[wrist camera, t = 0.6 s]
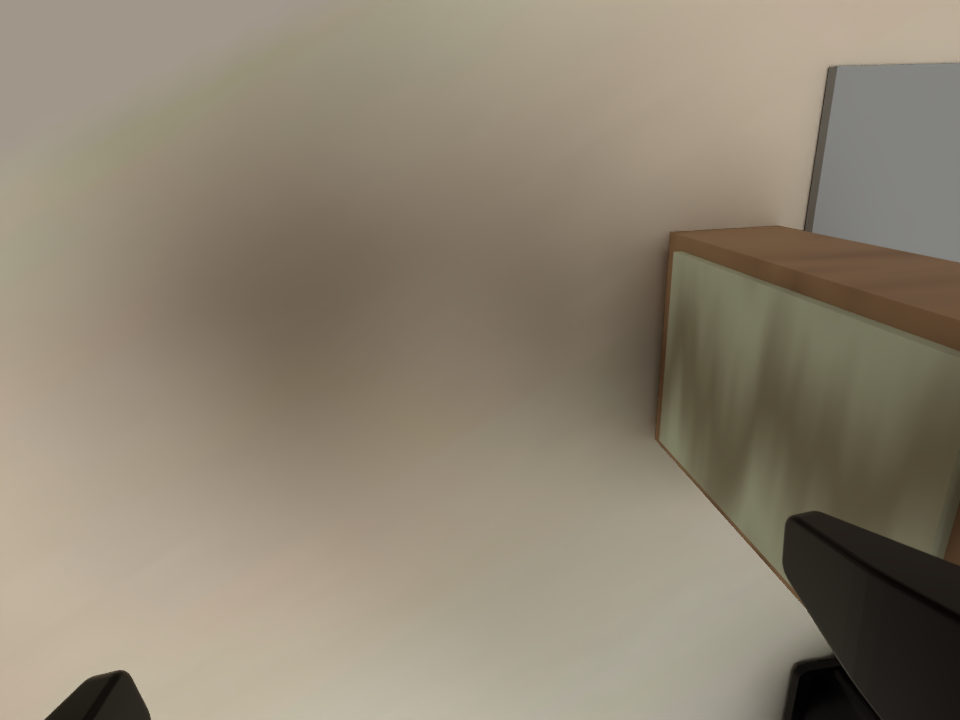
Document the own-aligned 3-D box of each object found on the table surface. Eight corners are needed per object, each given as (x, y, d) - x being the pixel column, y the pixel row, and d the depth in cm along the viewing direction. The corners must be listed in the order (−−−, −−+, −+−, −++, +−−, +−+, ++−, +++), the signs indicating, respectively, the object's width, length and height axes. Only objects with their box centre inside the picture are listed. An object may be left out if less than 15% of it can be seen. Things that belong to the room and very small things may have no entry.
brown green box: (750, 429, 24) (1129, 729, 11) (647, 439, 23) (927, 763, 11) (778, 225, 21) (1314, 334, 9) (661, 232, 20) (1057, 357, 8)
